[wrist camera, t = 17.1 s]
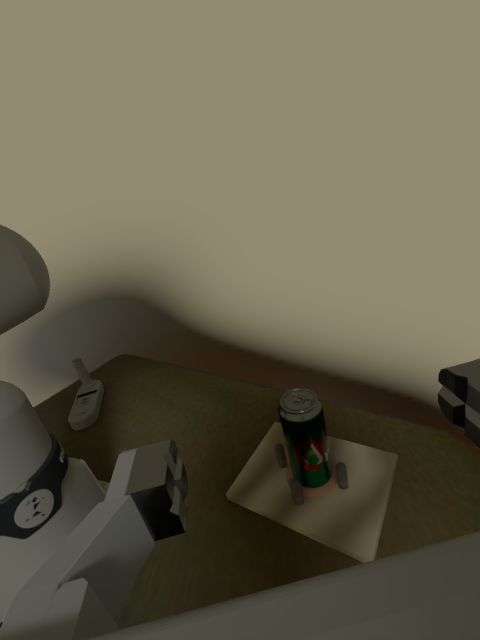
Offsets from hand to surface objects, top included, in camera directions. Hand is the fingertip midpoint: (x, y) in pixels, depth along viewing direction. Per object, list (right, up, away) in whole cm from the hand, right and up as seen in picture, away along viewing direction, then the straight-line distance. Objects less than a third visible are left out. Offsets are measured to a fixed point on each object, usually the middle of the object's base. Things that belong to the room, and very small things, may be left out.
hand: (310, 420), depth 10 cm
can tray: (+7, -18, +32) cm, 37 cm away
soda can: (+7, -17, +32) cm, 37 cm away
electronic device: (-35, -16, +60) cm, 71 cm away
